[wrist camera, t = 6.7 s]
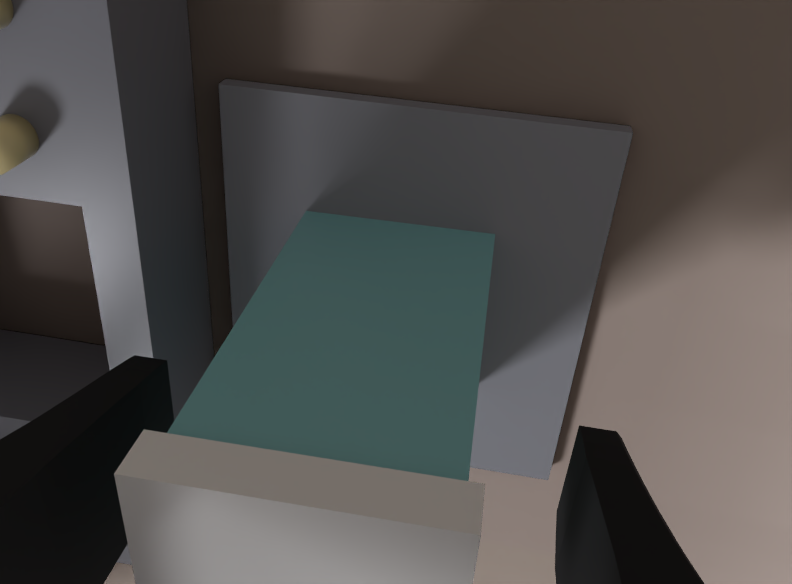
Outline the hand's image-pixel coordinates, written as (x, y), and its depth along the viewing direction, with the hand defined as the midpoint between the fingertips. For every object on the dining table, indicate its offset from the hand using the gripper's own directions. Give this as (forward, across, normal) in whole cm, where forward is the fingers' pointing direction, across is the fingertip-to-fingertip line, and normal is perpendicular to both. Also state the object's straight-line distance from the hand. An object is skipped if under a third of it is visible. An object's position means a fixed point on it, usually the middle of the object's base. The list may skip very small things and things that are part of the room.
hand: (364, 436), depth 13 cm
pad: (+5, 0, 0) cm, 5 cm away
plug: (+4, 0, 0) cm, 4 cm away
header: (+5, +8, 0) cm, 10 cm away
